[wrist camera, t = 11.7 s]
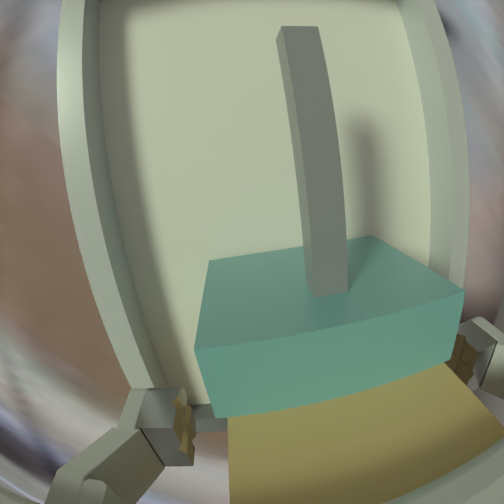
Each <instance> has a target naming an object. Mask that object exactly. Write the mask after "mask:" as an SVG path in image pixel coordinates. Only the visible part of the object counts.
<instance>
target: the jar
mask: <svg viewBox="0 0 504 504" xmlns="http://www.w3.org/2000/svg"><path fill="white" fill-rule="evenodd" d="M227 420H228V461H229V491H230V504H382V503H384V502H387V501H390V500H392V499H395V498H397V497H400V496H402V495H404V494H407V493H409V492H411V491H413V490H415V489H418V488H420V487H422V486H424V485H426V484H428V483H430V482H432V481H434V480H436V479H438V478H440V477H442V476H444V475H445V474H447V473H449V472H451V471H453V470H454V469H456V468H458V467H459V466H461V465H463V464H464V463H466V462H468V461H469V460H471V459H473V458H474V457H476V456H477V455H479V454H480V453H482V452H483V451H485V450H486V449H488V448H489V447H490V446H492V445H493V444H495V443H496V442H497V441H499V440H500V439H502V438H503V437H504V427H503V426H502V425H501V424H500V422H499V421H498V420H497V419H496V418H495V417H494V416H493V414H492V413H491V412H490V411H489V410H488V409H487V408H486V407H485V406H484V404H483V403H482V402H481V401H480V400H479V399H478V398H477V397H476V396H475V395H474V394H473V393H472V391H471V390H470V389H469V388H468V387H467V386H466V385H465V384H464V383H463V382H462V381H461V380H460V379H459V378H458V377H457V375H456V374H455V373H454V372H453V371H452V370H451V369H450V368H449V367H448V366H447V365H446V364H445V363H444V362H443V363H441V364H438V365H436V366H433V367H431V368H428V369H426V370H423V371H421V372H418V373H416V374H413V375H410V376H407V377H405V378H402V379H399V380H396V381H393V382H390V383H387V384H384V385H381V386H378V387H375V388H371V389H368V390H365V391H361V392H358V393H354V394H350V395H347V396H343V397H339V398H335V399H331V400H327V401H323V402H318V403H314V404H309V405H304V406H300V407H294V408H289V409H284V410H278V411H272V412H266V413H259V414H252V415H244V416H236V417H227Z"/></svg>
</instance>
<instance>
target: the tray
mask: <svg viewBox="0 0 504 504" xmlns="http://www.w3.org/2000/svg"><path fill="white" fill-rule="evenodd" d="M281 26H318V29H319V33H320V37H321V42H322V46H323V51H324V56H325V61H326V66H327V71H328V77H329V82H330V88H331V94H332V100H333V106H334V113H335V119H336V127H337V134H338V142H339V150H340V159H341V169H342V179H343V190H344V203H345V218H346V237H347V239H353V238H359V237H366V236H372V235H373V236H375V237H376V238H378V239H380V240H382V241H384V242H385V243H387V244H389V245H391V246H392V247H394V248H396V249H398V250H399V251H401V252H403V253H405V254H406V255H408V256H410V257H411V258H413V259H415V260H416V261H418V262H420V263H421V264H423V265H425V266H426V267H428V268H430V269H431V270H433V271H435V272H436V273H438V274H439V275H441V276H443V277H444V278H446V279H447V280H449V281H451V282H452V283H454V284H455V285H457V286H458V287H460V288H462V289H463V283H464V276H465V269H466V260H467V249H468V237H469V217H470V176H469V157H468V144H467V134H466V125H465V118H464V111H463V105H462V99H461V93H460V88H459V83H458V78H457V74H456V69H455V65H454V61H453V57H452V53H451V50H450V46H449V43H448V39H447V36H446V33H445V30H444V26H443V23H442V21H441V18H440V15H439V12H438V9H437V7H436V4H435V2H434V0H62V6H61V14H60V24H59V35H58V52H57V103H58V121H59V133H60V143H61V152H62V160H63V168H64V174H65V181H66V187H67V193H68V198H69V203H70V208H71V213H72V218H73V222H74V227H75V231H76V235H77V239H78V243H79V247H80V251H81V255H82V259H83V262H84V266H85V269H86V273H87V276H88V279H89V282H90V286H91V289H92V292H93V295H94V298H95V301H96V304H97V307H98V310H99V312H100V315H101V318H102V321H103V323H104V326H105V329H106V331H107V334H108V336H109V339H110V341H111V344H112V346H113V349H114V351H115V353H116V356H117V358H118V360H119V363H120V365H121V367H122V369H123V371H124V374H125V376H126V378H127V380H128V382H129V384H130V386H131V388H132V389H133V388H168V387H182V388H184V390H185V392H186V395H187V403H186V404H188V405H189V406H191V407H192V410H193V412H194V416H195V422H196V433H200V432H215V431H226V430H228V420H227V418H217V419H216V418H215V415H214V412H213V409H212V406H211V403H210V400H209V397H208V394H207V391H206V388H205V385H204V382H203V379H202V375H201V372H200V369H199V366H198V362H197V359H196V356H195V352H194V345H195V339H196V332H197V326H198V320H199V314H200V308H201V303H202V297H203V291H204V286H205V280H206V274H207V269H208V264H209V260H215V259H222V258H228V257H235V256H242V255H248V254H255V253H261V252H268V251H274V250H281V249H288V248H294V247H301V246H303V237H302V226H301V216H300V206H299V197H298V188H297V179H296V170H295V162H294V154H293V147H292V139H291V132H290V125H289V118H288V111H287V104H286V98H285V91H284V85H283V79H282V73H281V67H280V61H279V56H278V50H277V45H276V38H277V35H278V33H279V31H280V28H281Z"/></svg>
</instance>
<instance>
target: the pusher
mask: <svg viewBox="0 0 504 504" xmlns="http://www.w3.org/2000/svg"><path fill="white" fill-rule="evenodd" d="M276 45H277V50H278V56H279V61H280V67H281V73H282V79H283V85H284V91H285V98H286V104H287V111H288V118H289V125H290V132H291V139H292V147H293V154H294V162H295V170H296V179H297V188H298V197H299V206H300V216H301V226H302V237H303V246H301V247H294V248H288V249H281V250H274V251H268V252H261V253H255V254H248V255H242V256H235V257H228V258H222V259H215V260H209V264H208V269H207V274H206V280H205V286H204V291H203V297H202V303H201V308H200V314H199V320H198V326H197V332H196V339H195V345H194V352H195V356H196V359H197V362H198V366H199V369H200V372H201V375H202V379H203V382H204V385H205V388H206V391H207V394H208V397H209V400H210V403H211V406H212V409H213V412H214V415H215V418H216V419H217V418H227V417H236V416H244V415H252V414H259V413H266V412H272V411H278V410H284V409H289V408H294V407H300V406H304V405H309V404H314V403H318V402H323V401H327V400H331V399H335V398H339V397H343V396H347V395H350V394H354V393H358V392H361V391H365V390H368V389H371V388H375V387H378V386H381V385H384V384H387V383H390V382H393V381H396V380H399V379H402V378H405V377H407V376H410V375H413V374H416V373H418V372H421V371H423V370H426V369H428V368H431V367H433V366H436V365H438V364H441V363H443V362H445V361H448V360H450V358H451V355H452V351H453V347H454V343H455V340H456V335H457V331H458V327H459V322H460V318H461V313H462V308H463V302H464V297H465V290H463V289H462V288H460V287H458V286H457V285H455V284H454V283H452V282H451V281H449V280H447V279H446V278H444V277H443V276H441V275H439V274H438V273H436V272H435V271H433V270H431V269H430V268H428V267H426V266H425V265H423V264H421V263H420V262H418V261H416V260H415V259H413V258H411V257H410V256H408V255H406V254H405V253H403V252H401V251H399V250H398V249H396V248H394V247H392V246H391V245H389V244H387V243H385V242H384V241H382V240H380V239H378V238H376V237H375V236H373V235H372V236H366V237H359V238H353V239H347V237H346V218H345V203H344V190H343V179H342V169H341V159H340V150H339V142H338V134H337V127H336V119H335V113H334V106H333V100H332V94H331V88H330V82H329V77H328V71H327V66H326V61H325V56H324V51H323V46H322V42H321V37H320V33H319V29H318V26H281V28H280V31H279V33H278V35H277V38H276Z"/></svg>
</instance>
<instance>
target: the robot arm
mask: <svg viewBox="0 0 504 504" xmlns="http://www.w3.org/2000/svg"><path fill="white" fill-rule="evenodd" d="M444 363H445V364H446V365H447V366H448V367H449V368H450V369H451V370H452V371H453V372H454V373H455V374H456V375H457V377H458V378H459V379H460V380H461V381H462V382H463V383H464V384H465V385H466V386H467V387H468V388H469V389H470V390H471V391H474V390H476V389H478V388H480V387H481V388H480V389H483V390H484V391H487V392H489V393H491V394H493V395H495V396H498V397H500V398H502V399H504V333H503V332H501V331H500V330H499V329H497V328H496V327H495V326H493V325H492V324H491V323H489V322H488V321H487V320H485V319H484V318H483V317H479V316H477V317H475V318H473V319H471V320H468V321H467V322H464V323H462V324H459V327H458V331H457V335H456V340H455V343H454V347H453V351H452V355H451V358H450V360H448V361H445V362H444ZM186 403H187V395H186V392H185V390H184V388H182V387H168V388H133V389H132V390H131V391H130V392H129V395H128V398H127V401H126V403H125V406H124V409H123V412H122V415H121V418H120V420H119V423H118V426H117V428H112V429H110V430H109V431H108V432H107V433H105V434H104V435H103V436H101V437H100V438H99V439H98V440H96V441H95V442H94V443H92V444H91V445H90V446H89V447H87V448H86V449H85V450H83V451H82V452H81V453H79V454H78V455H77V456H75V457H74V458H73V459H71V460H70V461H69V462H67V463H66V464H65V465H63V466H62V467H61V468H59V469H58V470H57V472H56V475H55V477H54V480H53V482H52V485H51V487H50V490H49V493H48V495H47V498H46V501H45V504H136V502H137V501H138V500H139V499H140V498H141V497H142V495H143V494H144V493H145V492H146V491H147V489H148V488H149V487H150V486H151V485H152V483H153V482H154V481H155V480H156V479H157V477H158V476H159V475H160V474H161V472H162V471H163V470H164V469H165V467H164V466H193V465H194V452H195V447H194V445H193V443H192V440H193V439H194V437H195V436H196V422H195V416H194V412H193V410H192V407H191V406H189V405H188V404H186ZM0 504H39V503H37V502H34V501H32V500H29V499H27V498H25V497H22V496H20V495H18V494H16V493H14V492H11V491H9V490H7V489H5V488H3V487H1V486H0ZM382 504H504V437H503V438H502V439H500V440H499V441H497V442H496V443H495V444H493V445H492V446H490V447H489V448H488V449H486V450H485V451H483V452H482V453H480V454H479V455H477V456H476V457H474V458H473V459H471V460H469V461H468V462H466V463H464V464H463V465H461V466H459V467H458V468H456V469H454V470H453V471H451V472H449V473H447V474H445V475H444V476H442V477H440V478H438V479H436V480H434V481H432V482H430V483H428V484H426V485H424V486H422V487H420V488H418V489H415V490H413V491H411V492H409V493H407V494H404V495H402V496H400V497H397V498H395V499H392V500H390V501H387V502H384V503H382Z"/></svg>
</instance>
